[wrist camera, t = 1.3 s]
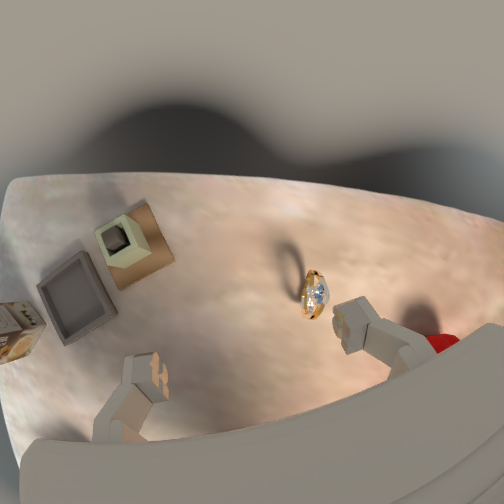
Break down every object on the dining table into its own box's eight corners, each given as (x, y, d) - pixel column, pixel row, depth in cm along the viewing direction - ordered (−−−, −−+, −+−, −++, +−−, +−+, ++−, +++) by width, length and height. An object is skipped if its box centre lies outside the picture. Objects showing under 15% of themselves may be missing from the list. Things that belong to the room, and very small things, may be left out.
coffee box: (27, 299, 39) (-33, 301, 23) (47, 324, 39) (-13, 335, 23) (10, 333, 38) (-46, 342, 22) (28, 357, 38) (-27, 375, 22)
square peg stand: (175, 260, 42) (160, 253, 32) (121, 290, 41) (93, 291, 31) (148, 204, 43) (128, 183, 33) (97, 234, 42) (67, 222, 32)
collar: (152, 253, 41) (138, 247, 34) (125, 268, 40) (107, 265, 34) (136, 217, 41) (120, 205, 34) (109, 233, 41) (90, 224, 34)
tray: (118, 313, 40) (112, 315, 38) (71, 343, 39) (64, 346, 37) (87, 252, 41) (80, 250, 39) (44, 285, 40) (36, 285, 37)
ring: (298, 269, 44) (313, 266, 36) (317, 273, 44) (336, 271, 36) (289, 314, 43) (302, 320, 35) (309, 317, 43) (326, 324, 35)
